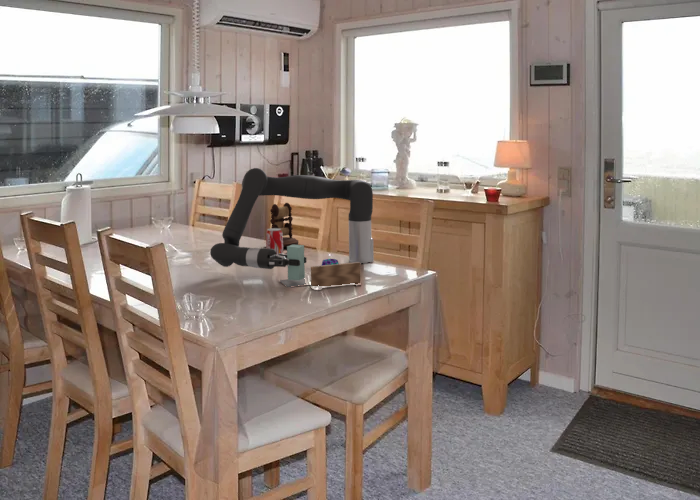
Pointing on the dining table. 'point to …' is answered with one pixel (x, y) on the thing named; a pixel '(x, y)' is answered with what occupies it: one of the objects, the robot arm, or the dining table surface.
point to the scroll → (278, 222)
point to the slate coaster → (293, 282)
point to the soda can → (274, 240)
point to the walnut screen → (335, 274)
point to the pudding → (329, 262)
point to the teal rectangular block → (297, 254)
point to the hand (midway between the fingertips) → (302, 261)
